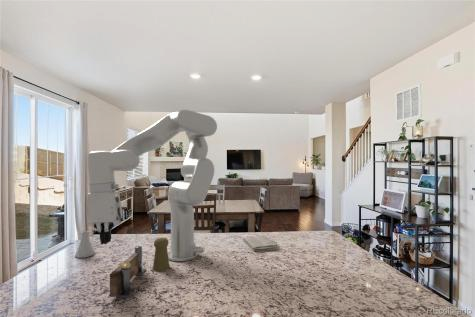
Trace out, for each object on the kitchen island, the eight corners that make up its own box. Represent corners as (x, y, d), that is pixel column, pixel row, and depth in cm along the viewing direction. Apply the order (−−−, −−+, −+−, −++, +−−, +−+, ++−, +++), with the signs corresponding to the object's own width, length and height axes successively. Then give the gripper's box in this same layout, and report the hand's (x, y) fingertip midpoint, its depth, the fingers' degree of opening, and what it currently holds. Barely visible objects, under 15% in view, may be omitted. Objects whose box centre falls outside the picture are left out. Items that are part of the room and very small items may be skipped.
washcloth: (254, 254, 110) (254, 246, 110) (242, 241, 127) (242, 235, 127) (279, 251, 113) (279, 244, 113) (264, 239, 130) (264, 233, 130)
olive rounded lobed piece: (172, 265, 96) (172, 236, 97) (163, 272, 91) (163, 241, 91) (159, 263, 98) (159, 235, 99) (149, 270, 93) (149, 240, 93)
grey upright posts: (152, 270, 93) (152, 245, 93) (129, 297, 74) (129, 266, 74) (135, 269, 93) (135, 245, 93) (107, 297, 74) (107, 266, 74)
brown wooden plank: (133, 271, 89) (133, 253, 89) (139, 271, 89) (139, 252, 89) (109, 296, 72) (109, 274, 72) (116, 296, 72) (116, 274, 72)
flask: (98, 252, 111) (98, 229, 111) (87, 258, 104) (87, 234, 104) (83, 252, 112) (83, 229, 112) (70, 258, 104) (70, 234, 105)
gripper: (129, 185, 87) (132, 238, 88) (88, 187, 88) (91, 239, 88) (118, 189, 80) (121, 246, 80) (73, 190, 80) (76, 247, 81)
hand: (105, 242), depth 84 cm, fingers closed
